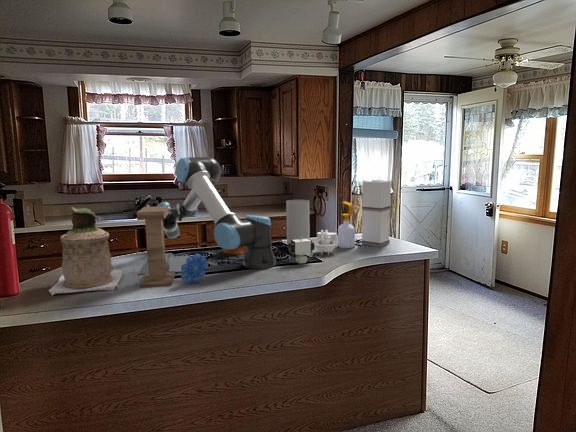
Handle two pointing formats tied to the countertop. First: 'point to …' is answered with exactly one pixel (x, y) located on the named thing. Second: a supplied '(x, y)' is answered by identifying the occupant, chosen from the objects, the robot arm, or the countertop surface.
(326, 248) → the mechanical part
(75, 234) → the cookie jar
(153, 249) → the stand
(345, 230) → the soap bottle
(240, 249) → the ceramic vessel
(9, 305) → the countertop surface
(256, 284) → the countertop surface
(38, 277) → the countertop surface
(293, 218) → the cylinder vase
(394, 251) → the countertop surface
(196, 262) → the grapes
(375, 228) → the white lidded square box
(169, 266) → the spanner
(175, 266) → the rubber mat
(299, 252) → the pneumatic valve
